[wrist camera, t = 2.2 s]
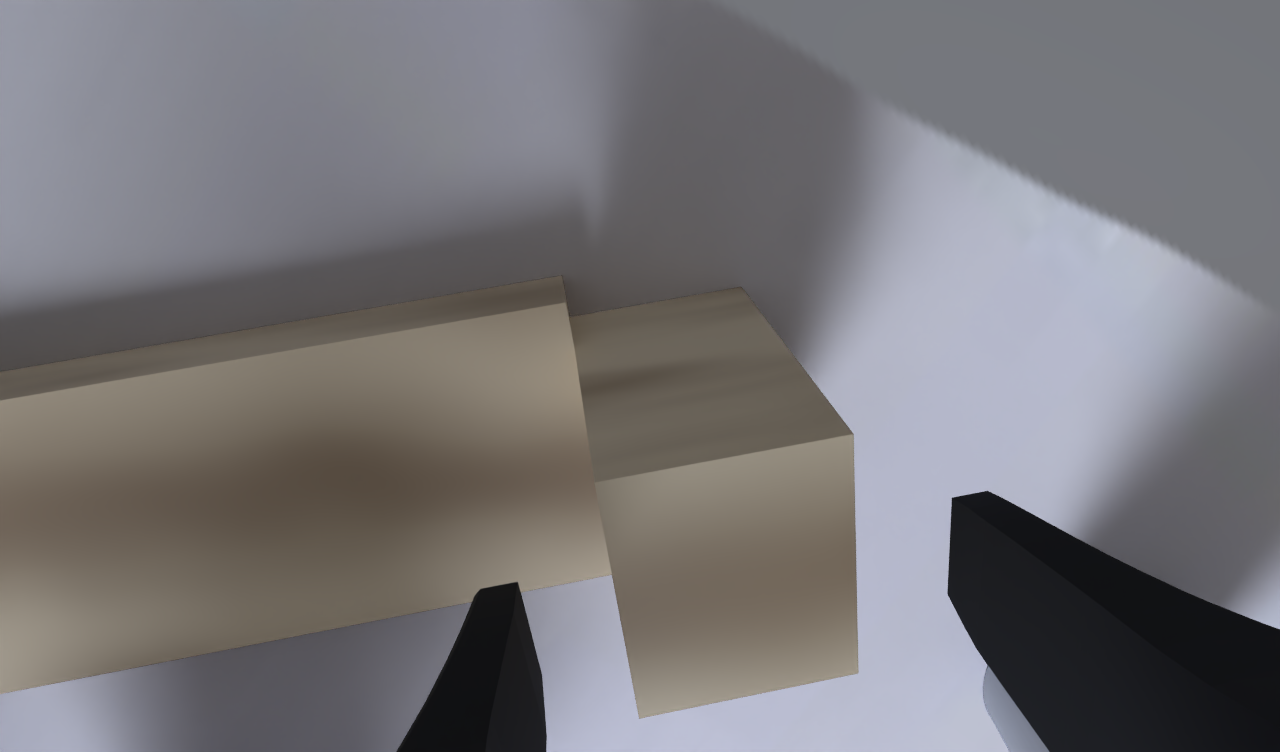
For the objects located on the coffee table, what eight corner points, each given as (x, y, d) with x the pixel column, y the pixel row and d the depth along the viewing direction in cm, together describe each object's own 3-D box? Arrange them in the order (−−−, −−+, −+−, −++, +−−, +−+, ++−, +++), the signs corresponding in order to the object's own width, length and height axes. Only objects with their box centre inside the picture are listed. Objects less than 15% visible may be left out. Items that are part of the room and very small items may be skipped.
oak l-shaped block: (759, 500, 21) (859, 712, 15) (-27, 650, 20) (-280, 951, 14) (737, 244, 18) (852, 375, 12) (-192, 404, 17) (-616, 644, 11)
